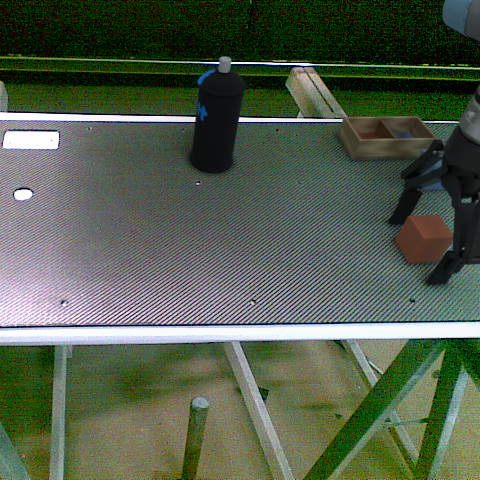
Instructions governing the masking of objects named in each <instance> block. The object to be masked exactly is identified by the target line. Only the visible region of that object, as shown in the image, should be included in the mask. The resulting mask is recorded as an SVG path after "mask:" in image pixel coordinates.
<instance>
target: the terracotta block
mask: <svg viewBox="0 0 480 480" xmlns="http://www.w3.org/2000/svg"><path fill="white" fill-rule="evenodd" d="M394 242H395V243H396V245H397V247H398V248H399V250H400V251H401V254H402V255H403V257H404V258H405V260H406V261H407V263H408V264H419V263H420V264H421V263H439V262H440V260H441V259H442V257H443V256H444V254H445V253H446V251H447V250H448V249H449V247H450V246H451V245H452V244H453V232H452V230H451V229H450V228H449V227H448V225H447V224H446V222H445V221H444V220H443V218H442V217H441V216H440V215H439V214H421V215H420V214H419V215H417V214H416V215H415V214H414V215H410V216H408V217H407V219H406V221H405V223H403V224H402V226H401V228H400V230H399V232H398V234H397V236H396V237H395V239H394Z"/></svg>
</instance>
